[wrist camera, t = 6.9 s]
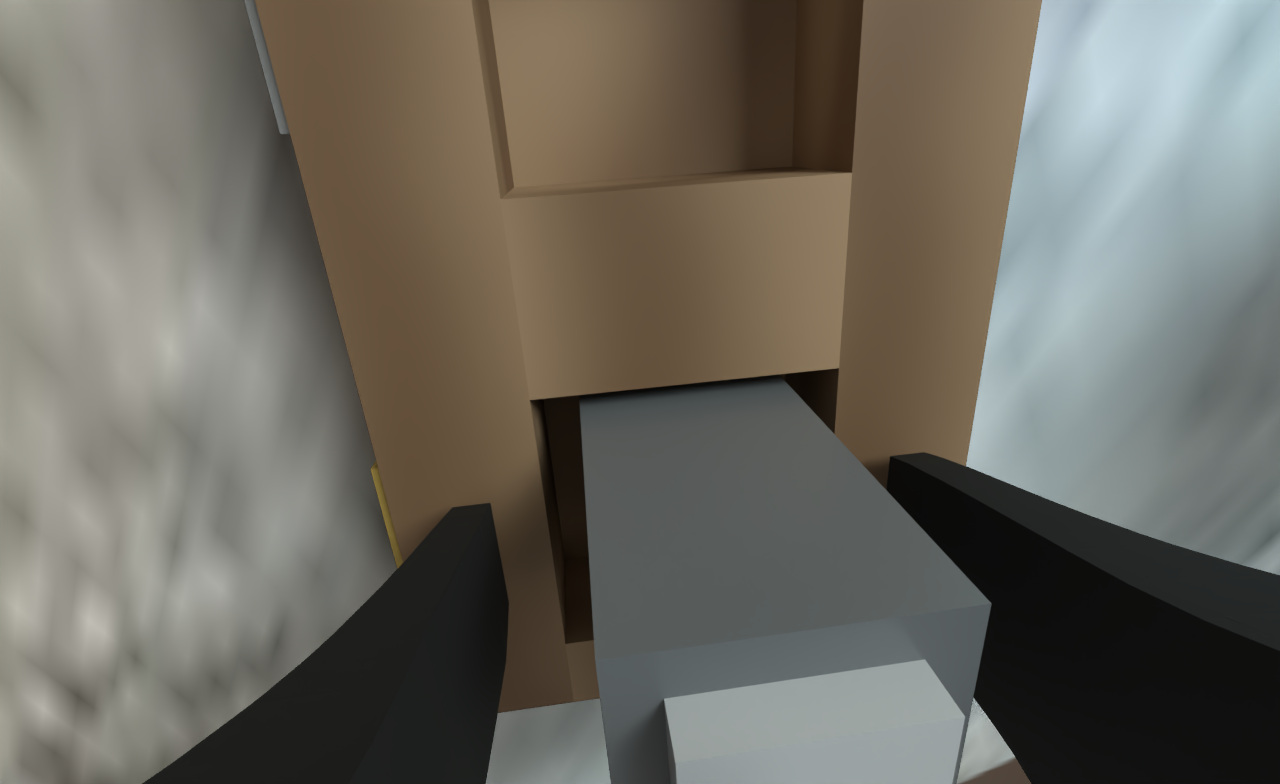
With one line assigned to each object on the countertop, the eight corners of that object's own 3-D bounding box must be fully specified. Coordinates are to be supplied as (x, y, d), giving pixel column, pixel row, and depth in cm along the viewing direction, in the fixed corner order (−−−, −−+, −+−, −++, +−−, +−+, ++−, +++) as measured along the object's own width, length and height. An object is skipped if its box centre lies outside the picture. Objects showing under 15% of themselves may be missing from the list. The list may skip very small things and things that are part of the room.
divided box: (954, -305, 9) (1124, -497, 6) (868, 558, 15) (935, 649, 13) (250, -298, 8) (95, -515, 6) (459, 612, 15) (434, 722, 12)
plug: (750, 343, 12) (1040, 657, 5) (750, 492, 14) (976, 916, 6) (577, 362, 12) (599, 723, 5) (594, 512, 13) (633, 980, 6)
